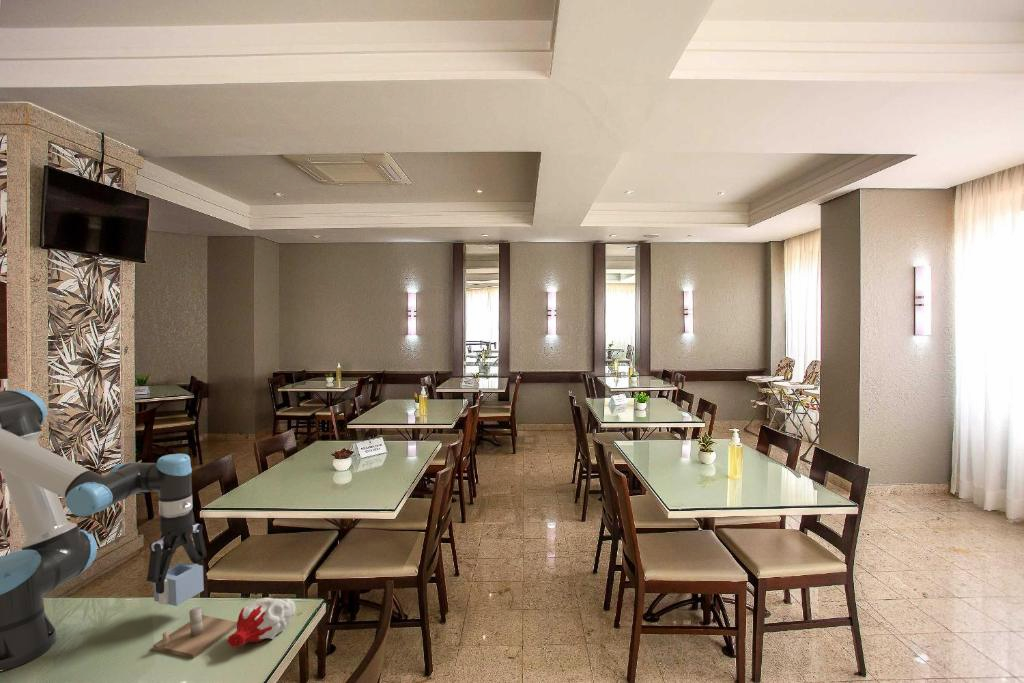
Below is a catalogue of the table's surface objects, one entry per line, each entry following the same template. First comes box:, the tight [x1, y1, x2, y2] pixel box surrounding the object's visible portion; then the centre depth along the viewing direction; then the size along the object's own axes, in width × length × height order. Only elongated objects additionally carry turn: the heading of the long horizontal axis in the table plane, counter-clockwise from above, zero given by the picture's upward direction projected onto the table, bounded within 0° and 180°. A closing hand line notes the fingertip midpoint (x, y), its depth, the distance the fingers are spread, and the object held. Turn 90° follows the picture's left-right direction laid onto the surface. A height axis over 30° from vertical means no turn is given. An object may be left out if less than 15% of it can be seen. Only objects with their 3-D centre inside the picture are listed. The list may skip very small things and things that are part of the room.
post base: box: [152, 607, 237, 659], centre depth 128 cm, size 13×13×7 cm
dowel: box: [162, 631, 170, 647], centre depth 124 cm, size 1×1×3 cm
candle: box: [226, 597, 297, 648], centre depth 127 cm, size 9×11×15 cm
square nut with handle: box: [153, 561, 205, 607], centre depth 138 cm, size 12×8×7 cm
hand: (179, 594), depth 138 cm, fingers closed on square nut with handle, 8 cm apart
